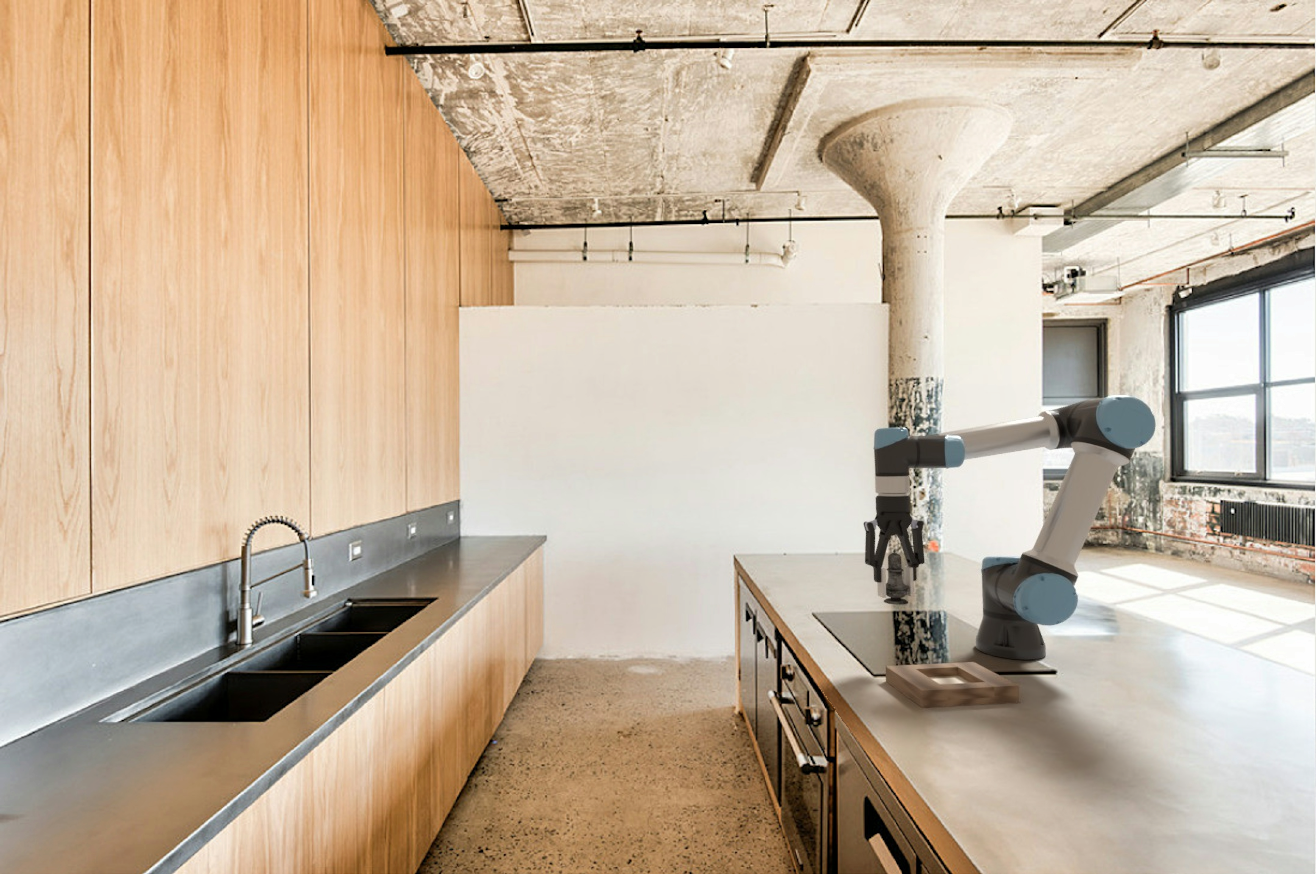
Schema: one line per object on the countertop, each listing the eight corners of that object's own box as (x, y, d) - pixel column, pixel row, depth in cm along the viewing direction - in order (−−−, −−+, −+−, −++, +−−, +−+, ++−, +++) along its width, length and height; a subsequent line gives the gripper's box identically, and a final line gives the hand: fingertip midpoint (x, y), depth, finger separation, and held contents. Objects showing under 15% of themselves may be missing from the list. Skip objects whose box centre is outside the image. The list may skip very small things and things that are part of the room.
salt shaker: (905, 606, 147) (903, 551, 148) (878, 602, 151) (877, 550, 151) (912, 601, 152) (911, 548, 152) (887, 598, 155) (885, 547, 156)
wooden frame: (973, 676, 143) (973, 661, 143) (1019, 702, 128) (1019, 685, 128) (885, 681, 141) (885, 666, 141) (922, 707, 126) (922, 690, 126)
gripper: (922, 492, 157) (926, 590, 156) (846, 494, 155) (849, 594, 154) (940, 494, 150) (943, 597, 149) (860, 496, 147) (863, 601, 146)
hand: (895, 595), depth 151 cm, fingers closed on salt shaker, 6 cm apart
